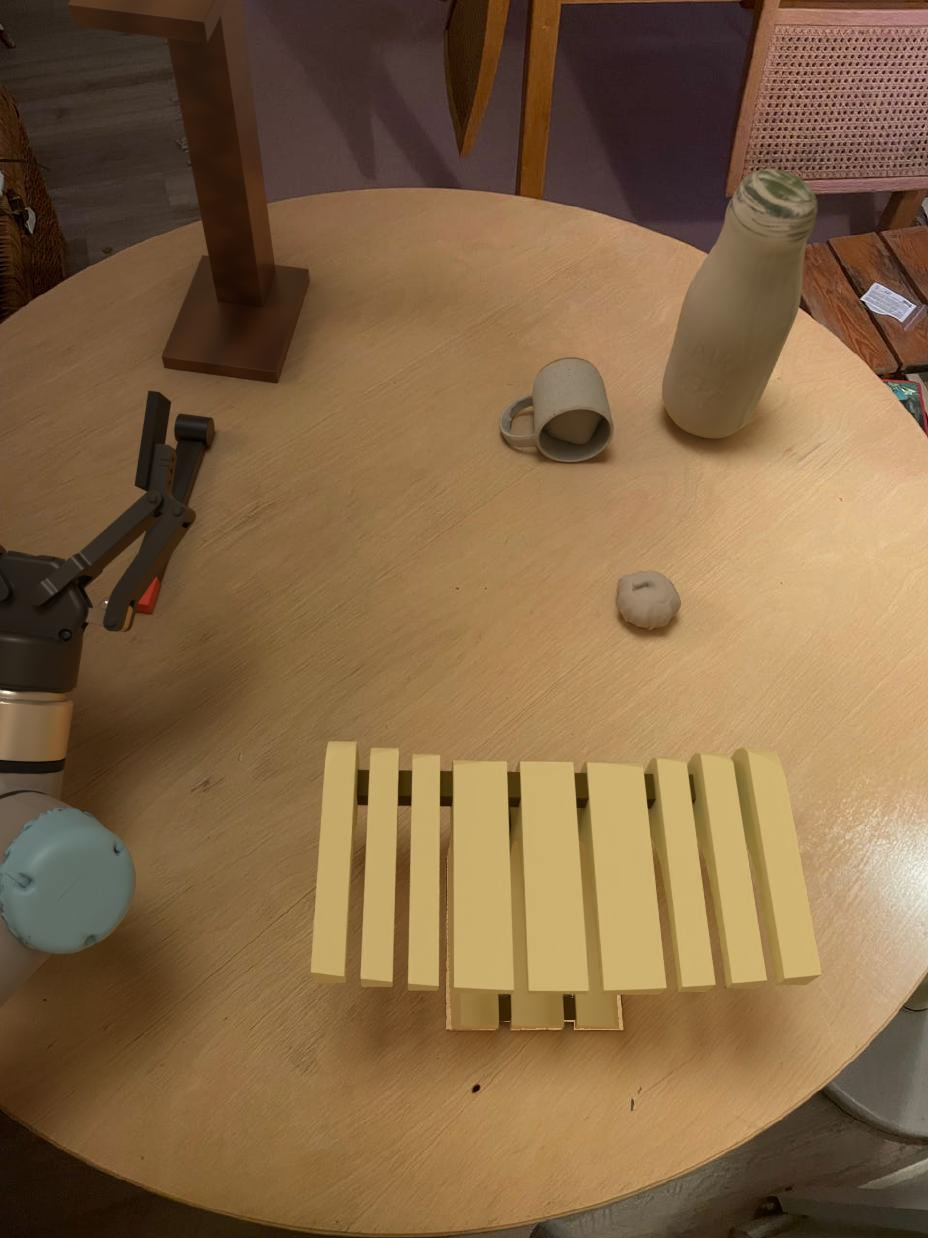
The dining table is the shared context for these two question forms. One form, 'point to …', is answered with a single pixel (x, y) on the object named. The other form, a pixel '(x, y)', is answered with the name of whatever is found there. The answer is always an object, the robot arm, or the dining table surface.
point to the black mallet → (181, 479)
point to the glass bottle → (740, 306)
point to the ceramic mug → (564, 412)
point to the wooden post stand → (218, 190)
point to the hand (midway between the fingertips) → (62, 382)
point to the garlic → (647, 599)
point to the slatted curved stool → (564, 880)
